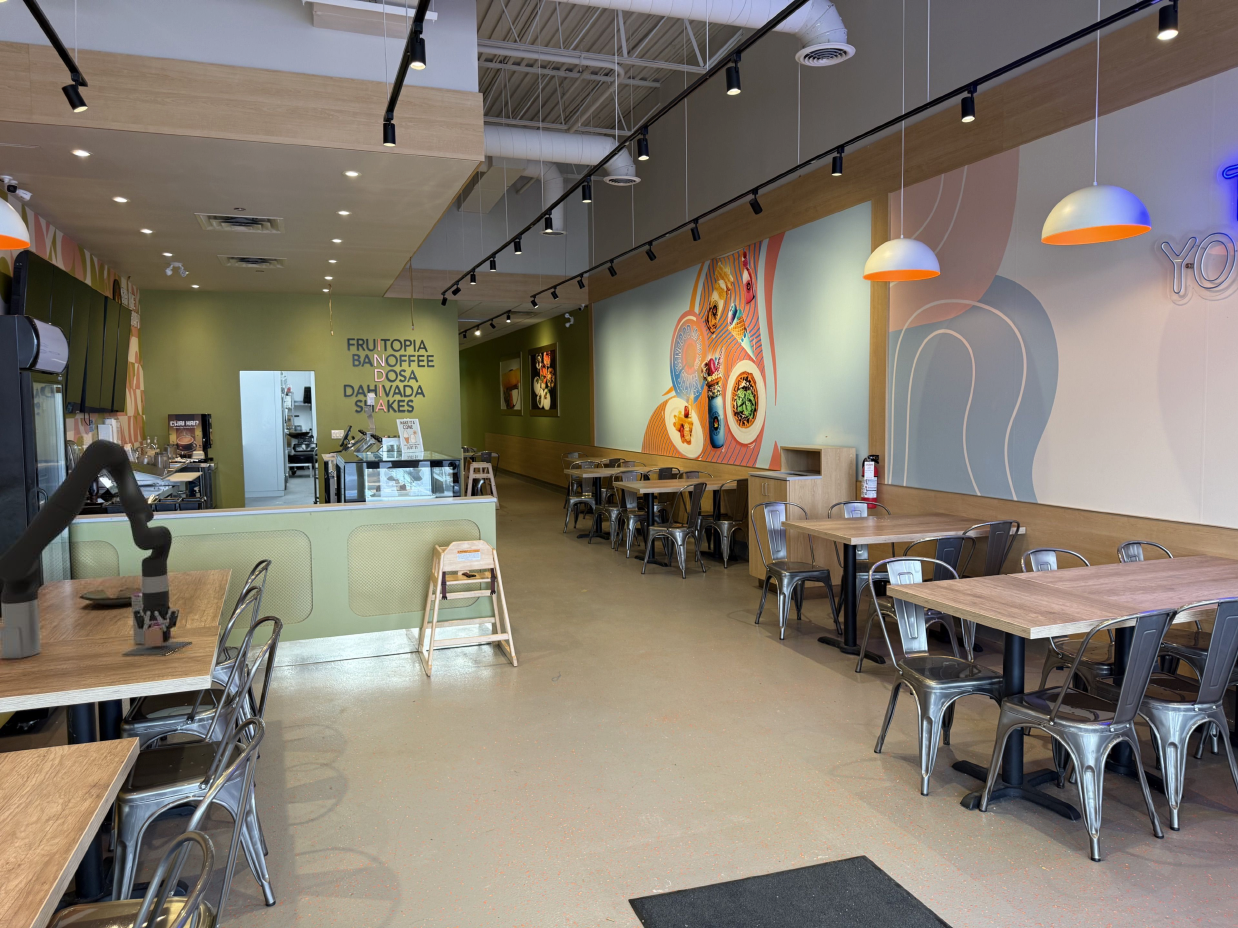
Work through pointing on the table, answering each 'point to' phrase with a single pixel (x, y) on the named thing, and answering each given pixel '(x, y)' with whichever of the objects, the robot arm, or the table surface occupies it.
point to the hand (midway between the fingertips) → (157, 641)
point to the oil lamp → (104, 599)
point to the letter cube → (154, 636)
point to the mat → (157, 649)
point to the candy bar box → (139, 633)
